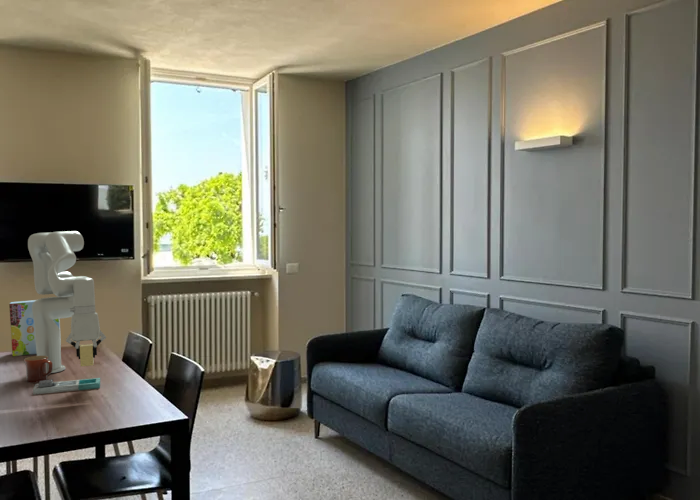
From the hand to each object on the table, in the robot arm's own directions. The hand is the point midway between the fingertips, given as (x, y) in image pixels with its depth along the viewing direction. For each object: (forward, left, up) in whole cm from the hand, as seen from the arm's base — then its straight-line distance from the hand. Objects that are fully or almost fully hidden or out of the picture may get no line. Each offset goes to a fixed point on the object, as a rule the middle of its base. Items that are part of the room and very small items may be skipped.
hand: (86, 357), depth 251 cm
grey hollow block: (-13, -7, -11) cm, 19 cm away
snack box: (-65, +59, -13) cm, 89 cm away
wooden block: (0, 0, -3) cm, 3 cm away
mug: (-25, +6, -13) cm, 29 cm away
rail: (-6, -3, -13) cm, 15 cm away
